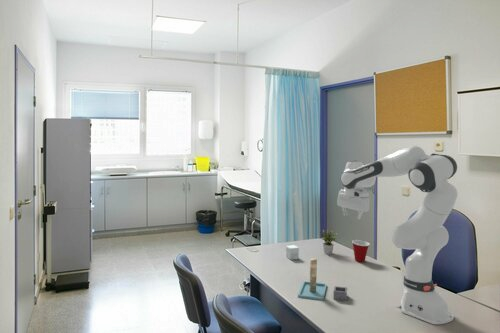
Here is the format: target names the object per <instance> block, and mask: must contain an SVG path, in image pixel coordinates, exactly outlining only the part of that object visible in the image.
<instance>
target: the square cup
mask: <svg viewBox="0 0 500 333" xmlns="http://www.w3.org/2000/svg"><path fill="white" fill-rule="evenodd" d="M333 300H337V301H345V302H347V300H348V287H347V286H346V287H345V286H336V285H334V286H333Z"/></svg>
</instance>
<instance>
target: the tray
mask: <svg viewBox="0 0 500 333" xmlns="http://www.w3.org/2000/svg"><path fill="white" fill-rule="evenodd" d="M327 286H328V284H327V283H322V282H316V292H314V293H313V292H310V281H305V280H303V282H302V283H301V287H300V289H299V292H298V294H297V298H301V299H302V298H304V299H309V300H317V301H324V299H325V294H326V291H327V288H328V287H327Z"/></svg>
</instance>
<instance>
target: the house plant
mask: <svg viewBox="0 0 500 333" xmlns="http://www.w3.org/2000/svg"><path fill="white" fill-rule="evenodd" d="M319 233H320V234H321V235H322V236H323V237H319V239H320V240H323V241H324V242H323V243H322V246H323V253H324V255H332V254H333V250H334V245H335V244H334V242H338V240H337V239H336V238H338V237H336V236H337V235H338V234H339V231H338V232H334V234H333V229H330V232H329V229H326V231H325V230H324V229H322V232H319Z"/></svg>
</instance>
